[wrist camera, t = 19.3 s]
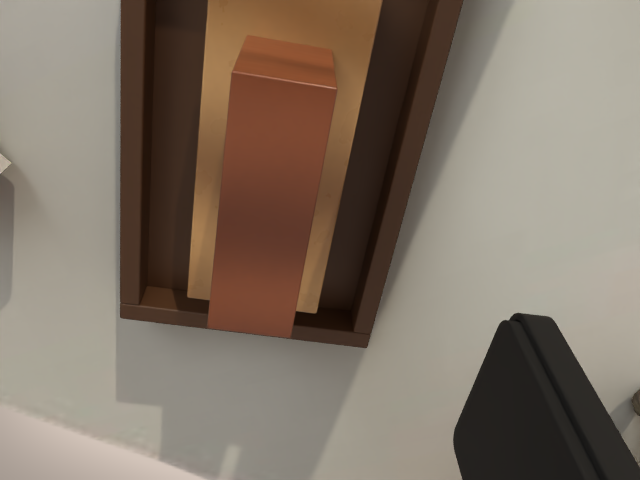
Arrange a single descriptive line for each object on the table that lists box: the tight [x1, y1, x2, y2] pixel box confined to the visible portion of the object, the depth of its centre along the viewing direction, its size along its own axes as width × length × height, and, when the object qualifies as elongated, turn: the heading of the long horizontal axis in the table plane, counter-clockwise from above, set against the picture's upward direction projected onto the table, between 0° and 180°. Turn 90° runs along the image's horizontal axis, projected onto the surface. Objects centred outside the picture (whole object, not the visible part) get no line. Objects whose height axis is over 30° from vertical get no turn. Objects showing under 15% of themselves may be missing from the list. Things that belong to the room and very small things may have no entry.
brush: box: [187, 0, 383, 338], centre depth 19 cm, size 12×5×7 cm, turn 170°
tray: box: [120, 0, 463, 348], centre depth 22 cm, size 18×11×2 cm, turn 170°
